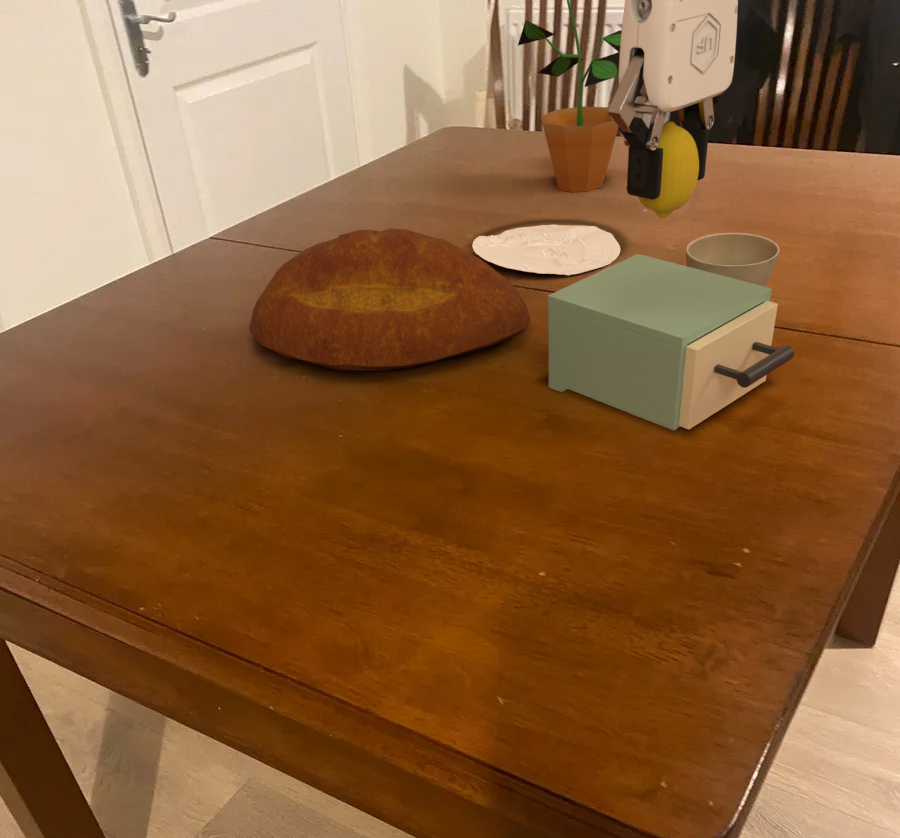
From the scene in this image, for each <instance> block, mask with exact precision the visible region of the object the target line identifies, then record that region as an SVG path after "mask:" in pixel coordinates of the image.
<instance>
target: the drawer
mask: <svg viewBox="0 0 900 838" xmlns="http://www.w3.org/2000/svg"><path fill="white" fill-rule="evenodd" d="M778 307H779V303H777V302H774V301H771V300H770V301H766V302H764V303H762V304H761V305H759V306H757V307H755V308H753V309H752V310H750V311H748V312H747V311H746V312H744V313H742V314H740V315H739V316H737V317H735V318H733V319H732V320H730V321H728V322H726V323H724V324H723V325H721V326H719V327H717V328H716V329H714V330H712V331H710V332H708V333H707V334H705V335H703V336H701V337H700V338H698V339H696V340H694V341H692V342H691V343H689V344H687V346H686V353H685V363H684V374H683V384H682V395H681V405H680V416H679V426H680V427H679V428H683V429H685V430H689V431H690V430H691V429H693V428H694V427H696V426H697V425H699V424H700V423H702V422H703V421H705V420H707V419H709V418H710V417H711V416H713V415H714V414H716V413H718V412H719V411H721V410H722V409H724V408H725V407H727V406H728V405H730V404H731V403H734V401H736V400H738V399H739V398H741V397H743V396H745V394H747V393H749V392H750V391H752V390H753V389H755V388H757V387H758V386H760V385H761V384H763V383H764V382H766V381H767V376H768V375H769V374H771V373H772V372H774V371H776V370H777V369H778V368H780V367H781V366H783V365H785V364H786V363H788V362H789V361H791V360H792V359H793V358H794V356H795V351H794V348H793V347H791V346H790V345H783V346H781V347H780V348H778V347H775V346H772V344H773V338H774V332H775V325H776V318H777V313H778Z"/></svg>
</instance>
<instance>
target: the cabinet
mask: <svg viewBox="0 0 900 838" xmlns="http://www.w3.org/2000/svg"><path fill="white" fill-rule="evenodd" d="M772 290H773V288H772V287H768V286H766V287H764V286H760V285H756V284H752V283H749V282H745V281H741V280H737V279H733V278H729V277H726V276H722V275H718V274H714V273H710V272H706V271H703V270H699V269H695V268H691V267H687V265H683V264H679V263H675V262H671V261H668V260H663V259H660V258H657V257H656V258H655V257H652V256H649V255H644V254H641V253H637V254H634V255H632V256H630V257H628V258H625V259H624V260H621V261H619V262H617V263H615V264H612V265H611V266H608V267H606V268H604V269H602V270H600V271H598V272H596V273H594V274H591V275H589V276H587V277H585V278H583V279H581V280H578V281H575V282H574V283H572V284H569V285H568V286H566V287H564V288H561V289H559V290H557V291H555V292H552V293H550V294H548V295H547V326H548V327H547V328H548V329H547V330H548V333H547V335H548V337H547V338H548V340H547V341H548V346H547V347H548V353H547V354H548V388H549V389H551V390H554V391H556V392H558V393H563V392H565V391H566V390H570V391H572V392H575V393H578V394H580V395H582V396H585V397H588V398H590V399H592V400H595V401H598V402H600V403H602V404H605V405H609V407H613V408H616V409H618V410H621V411H624V412H626V413H628V414H631V415H633V416H636V417H639V418H641V419H642V420H643V419H644V420H646V421H649V422H651V423H654V424H657V425H659V426H662V427H664V428H666V429H669V430H671V431H676V430H677V429H679V428H681V427H680V426H679V416H680V405H681V395H682V384H683V374H684V363H685V353H686V346H687V344H689V343H691V342H692V341H694V340H696V339H698V338H700V337H701V336H703V335H705V334H707V333H708V332H710V331H712V330H714V329H716V328H717V327H719V326H721V325H723V324H724V323H726V322H728V321H730V320H732V319H733V318H735V317H737V316H739V315H740V314H742V313H744V312H746V311H747V312H748V311H750V310H752V309H753V308H755V307H757V306H759V305H761V304H762V303H764V302H766V301H770V302H771V297H772V293H773V292H772Z"/></svg>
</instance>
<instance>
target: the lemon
mask: <svg viewBox="0 0 900 838" xmlns="http://www.w3.org/2000/svg"><path fill="white" fill-rule="evenodd" d="M682 127H683V126H681V125H680V126H679V125H677V124H676V123H675V121H672V120H666V121H664V125H663V129H662V133H661V137H660V141H659V144H658V147H657V148H663V162H662V177H661V191H660V196H659V197H658V198H656V199H654V200H652V199H647V198H643V197H638V196H637V197H638V199H639V201H640V203H641V204H642V206H644V207H645V208H647V209H648V210H650V211H652V212H654V214H656V216H657V217H658V218H659V219H667V218H668V217H669V216H670V214H672V213H673V212H674V211H677V210H679V209H680V208H682V207H683V206H684V205H685V204H686V203H687V202H688V201H689V200H690V198H691V197H692V195H693V193H694V191H695V189H696V186H697V183H698V181H699V180H698V174H699V157H698V151H697V146H696V143H695V141H694V139H693V137H692V136H691V134H690V133H689V132H688V131H686V130H685V129H683V128H682ZM697 180H698V181H697Z"/></svg>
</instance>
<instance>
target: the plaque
mask: <svg viewBox="0 0 900 838" xmlns="http://www.w3.org/2000/svg"><path fill="white" fill-rule="evenodd" d="M472 249H473V251H474V253H475V254H476V255H478V256H479V257H480V259H481V258H482V260H485V261H487V262H489V263H492V264H494V265H496V266H499V267H503V268H505V269H511V270H516V271H522V272H525V273H526V272H527V273H535V274H543V275H544V274H545V275H546V274H548V275H549V274H550V275H552V274H553V275H558V276H559V275H564V276H568V277H569V276H571V275H578V274H582V273H585V272H590V271H592V270H596V269H599V268H603V267H605V266H608V265H610V264H612V263H613V262H614V261H615V260H616V259H617V258H618V257H619V255H620V253H621V246H620V244H619V242H618V241H617V239H616V238H615V236H614V235H613V233H611V232H609V231H606V230H604V229H601V228H599V227H597V226H595V225H568V224H567V225H566V224H554V223H553V224H541V225H534V226H523V227H515V228H512V229H511V228H510V229H507V230H504V231H503V232H501V233H499V234H495V235H493V234H491V235H488V236H486V235H479V236H477V237H476V238H475V239H473V241H472Z"/></svg>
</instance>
